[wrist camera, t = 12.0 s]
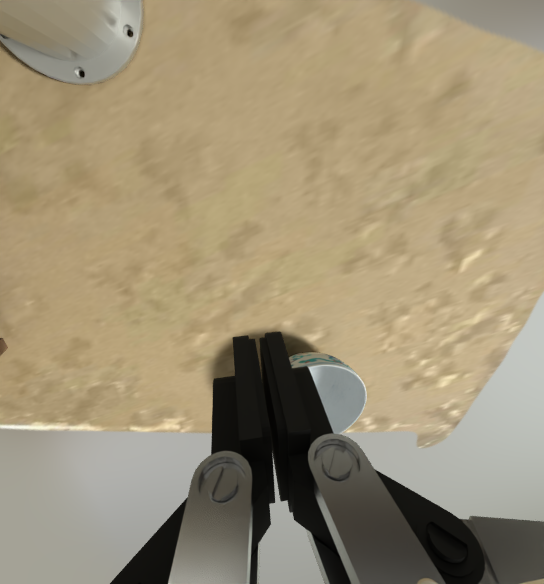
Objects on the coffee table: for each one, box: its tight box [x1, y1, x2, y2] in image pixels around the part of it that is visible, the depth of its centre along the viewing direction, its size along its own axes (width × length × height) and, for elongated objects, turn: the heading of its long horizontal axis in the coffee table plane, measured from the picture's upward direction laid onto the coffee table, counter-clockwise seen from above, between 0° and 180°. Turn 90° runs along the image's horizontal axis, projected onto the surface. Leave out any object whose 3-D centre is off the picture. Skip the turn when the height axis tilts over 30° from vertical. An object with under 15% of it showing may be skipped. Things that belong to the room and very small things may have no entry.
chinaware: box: [289, 352, 367, 434], centre depth 44 cm, size 15×15×8 cm
